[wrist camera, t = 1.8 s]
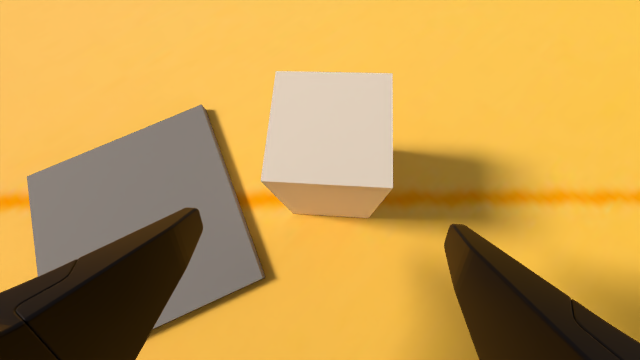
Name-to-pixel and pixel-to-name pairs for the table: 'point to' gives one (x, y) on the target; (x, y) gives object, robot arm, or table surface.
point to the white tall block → (330, 142)
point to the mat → (148, 206)
